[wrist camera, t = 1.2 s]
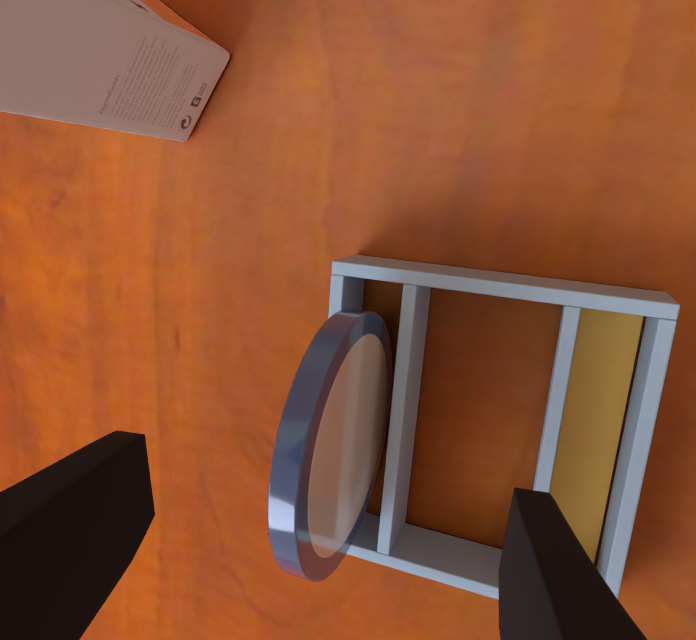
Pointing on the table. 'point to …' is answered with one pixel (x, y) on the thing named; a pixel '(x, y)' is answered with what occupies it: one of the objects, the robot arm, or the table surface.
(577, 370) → the rack
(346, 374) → the plate
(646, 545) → the table surface
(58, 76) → the cosmetic box
